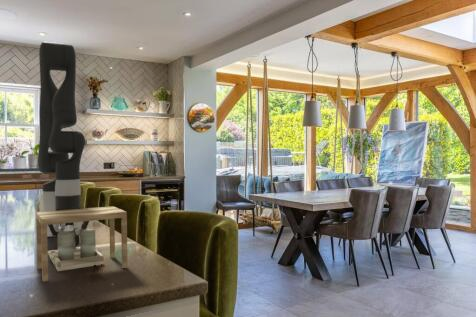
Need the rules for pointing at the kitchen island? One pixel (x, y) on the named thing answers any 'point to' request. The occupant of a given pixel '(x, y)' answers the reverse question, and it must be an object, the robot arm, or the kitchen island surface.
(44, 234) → the oak shelf
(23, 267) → the kitchen island surface
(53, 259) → the tray
